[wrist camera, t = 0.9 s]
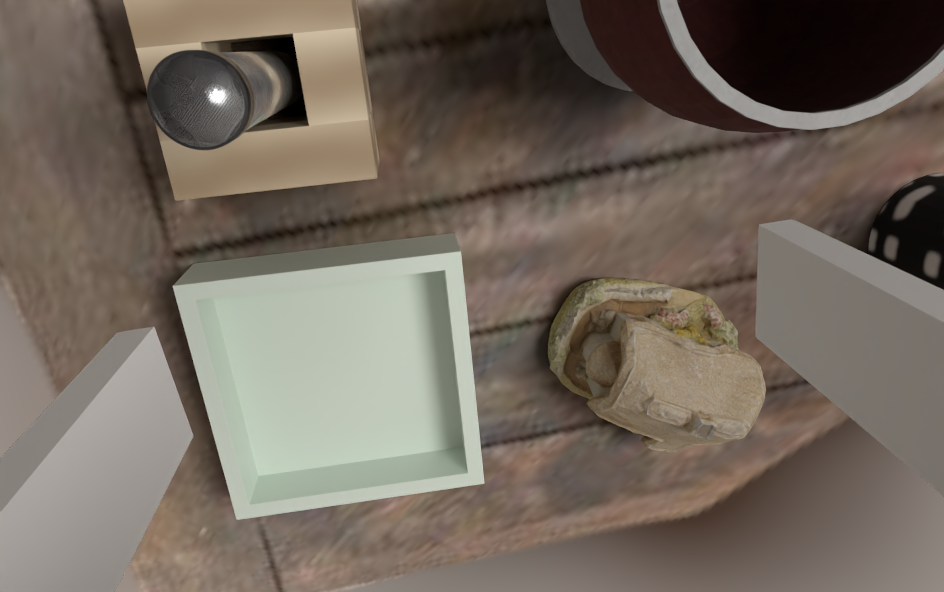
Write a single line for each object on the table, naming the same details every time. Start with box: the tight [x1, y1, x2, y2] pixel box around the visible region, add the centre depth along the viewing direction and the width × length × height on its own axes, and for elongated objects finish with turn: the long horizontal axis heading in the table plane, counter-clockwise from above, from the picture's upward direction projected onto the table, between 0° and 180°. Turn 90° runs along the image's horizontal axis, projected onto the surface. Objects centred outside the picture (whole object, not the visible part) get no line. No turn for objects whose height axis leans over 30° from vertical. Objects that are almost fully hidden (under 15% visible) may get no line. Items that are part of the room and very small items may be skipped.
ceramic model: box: [548, 278, 766, 452], centre depth 41 cm, size 14×11×10 cm
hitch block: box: [123, 0, 379, 201], centre depth 34 cm, size 10×10×6 cm
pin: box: [147, 50, 303, 150], centre depth 29 cm, size 3×3×16 cm
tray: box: [173, 233, 484, 520], centre depth 41 cm, size 16×16×4 cm
